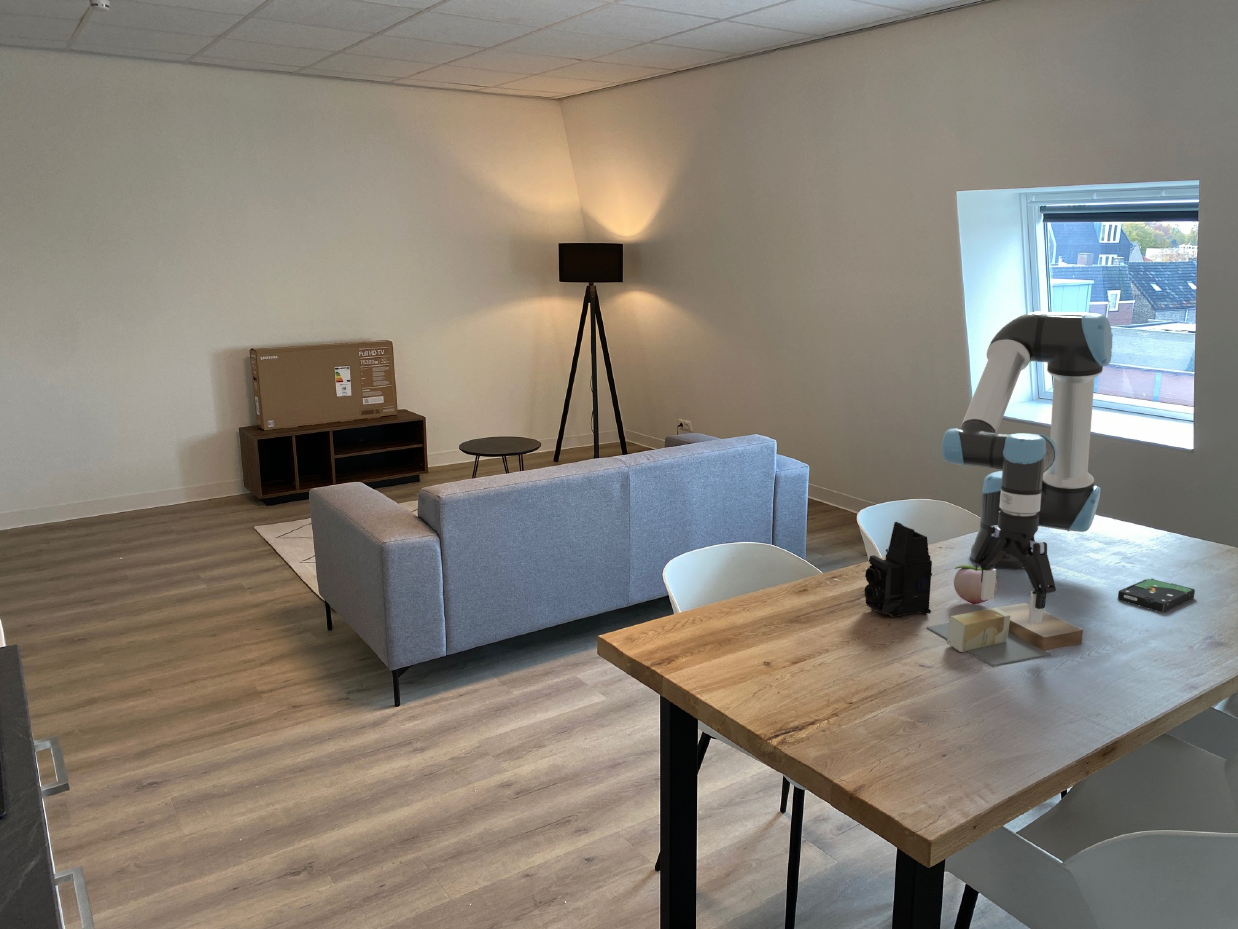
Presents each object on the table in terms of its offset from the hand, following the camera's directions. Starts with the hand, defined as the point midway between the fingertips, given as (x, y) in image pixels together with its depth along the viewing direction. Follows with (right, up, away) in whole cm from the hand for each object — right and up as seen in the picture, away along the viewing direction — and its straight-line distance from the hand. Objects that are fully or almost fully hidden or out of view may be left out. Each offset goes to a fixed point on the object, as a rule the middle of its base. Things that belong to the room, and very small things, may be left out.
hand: (1010, 610), depth 192 cm
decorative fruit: (0, -2, +19) cm, 19 cm away
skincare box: (-2, -3, -1) cm, 3 cm away
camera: (-19, -3, +15) cm, 25 cm away
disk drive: (+42, -1, +21) cm, 47 cm away
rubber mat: (-5, -6, 0) cm, 8 cm away
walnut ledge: (+6, -5, +3) cm, 9 cm away
